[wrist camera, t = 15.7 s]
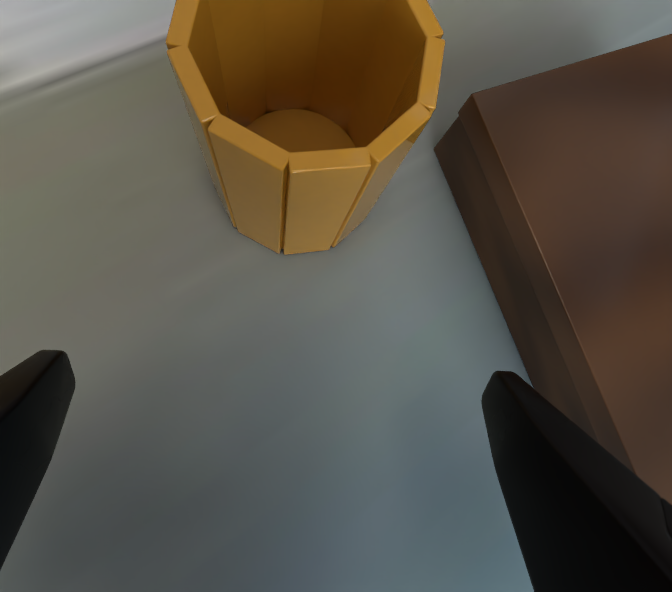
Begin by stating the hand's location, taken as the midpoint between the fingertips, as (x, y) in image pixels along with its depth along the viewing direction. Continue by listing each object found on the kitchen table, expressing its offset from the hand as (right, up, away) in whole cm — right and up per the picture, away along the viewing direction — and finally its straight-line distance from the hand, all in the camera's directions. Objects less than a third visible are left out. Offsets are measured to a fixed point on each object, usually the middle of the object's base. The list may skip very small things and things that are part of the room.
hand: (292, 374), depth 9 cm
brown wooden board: (+13, +3, +10) cm, 17 cm away
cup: (-1, +7, +9) cm, 11 cm away
